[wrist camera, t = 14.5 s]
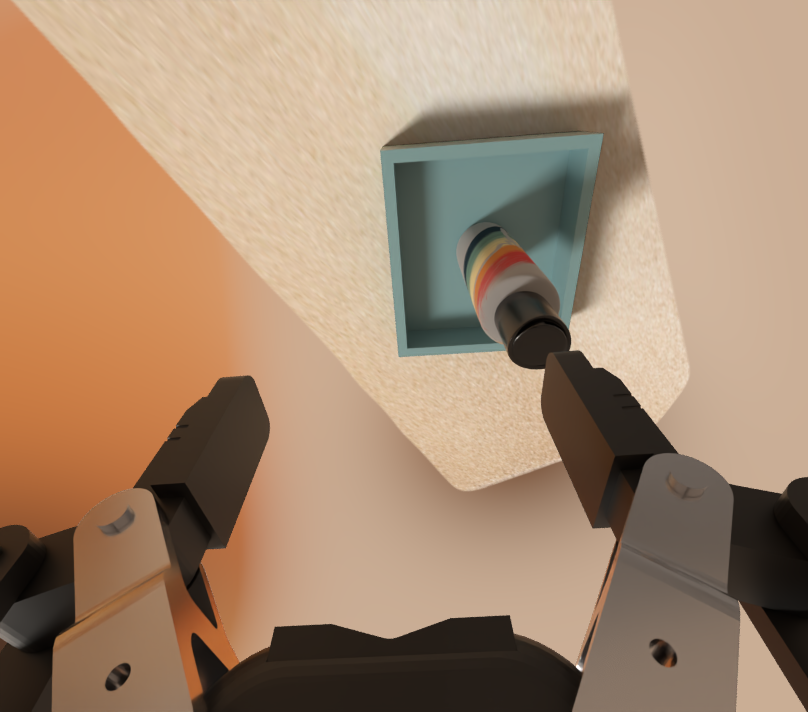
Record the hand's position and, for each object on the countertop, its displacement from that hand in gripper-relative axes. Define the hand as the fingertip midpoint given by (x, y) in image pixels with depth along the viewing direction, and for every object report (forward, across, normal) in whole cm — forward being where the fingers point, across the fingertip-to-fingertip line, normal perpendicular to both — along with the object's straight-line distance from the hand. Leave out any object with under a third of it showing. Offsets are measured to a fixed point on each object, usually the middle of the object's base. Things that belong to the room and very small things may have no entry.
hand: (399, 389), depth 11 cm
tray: (+32, -8, +7) cm, 34 cm away
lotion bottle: (+31, -8, +7) cm, 33 cm away
